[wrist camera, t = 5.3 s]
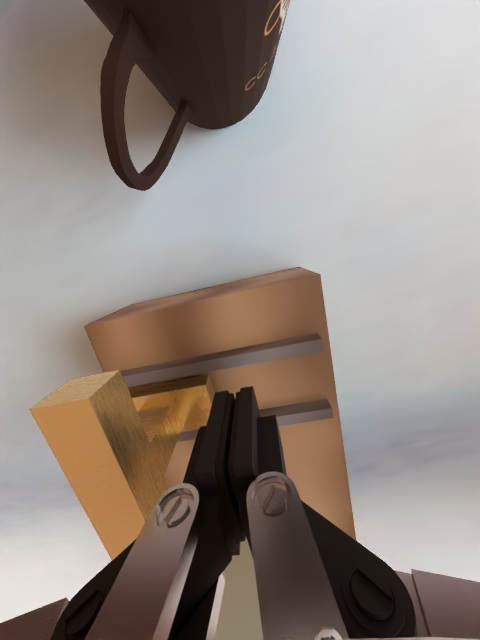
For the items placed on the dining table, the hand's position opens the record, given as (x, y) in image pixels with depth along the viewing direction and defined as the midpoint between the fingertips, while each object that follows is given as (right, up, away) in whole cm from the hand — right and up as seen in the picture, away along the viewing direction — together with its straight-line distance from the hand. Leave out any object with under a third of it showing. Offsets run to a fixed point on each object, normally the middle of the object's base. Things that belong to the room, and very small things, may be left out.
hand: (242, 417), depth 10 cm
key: (-4, 0, +3) cm, 5 cm away
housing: (0, -4, +9) cm, 10 cm away
